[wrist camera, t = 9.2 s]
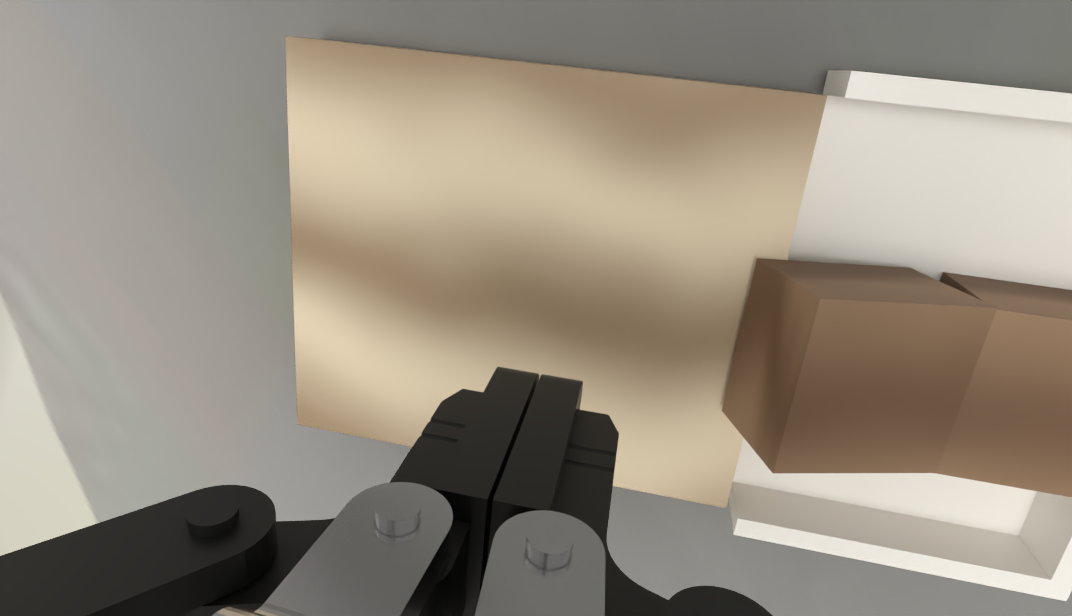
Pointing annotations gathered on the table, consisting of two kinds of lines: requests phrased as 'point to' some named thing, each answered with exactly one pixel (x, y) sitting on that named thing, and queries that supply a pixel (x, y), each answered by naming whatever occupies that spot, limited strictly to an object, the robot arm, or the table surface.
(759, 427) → the brown square block
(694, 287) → the beige square panel
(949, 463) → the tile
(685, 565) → the table surface
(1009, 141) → the tray
